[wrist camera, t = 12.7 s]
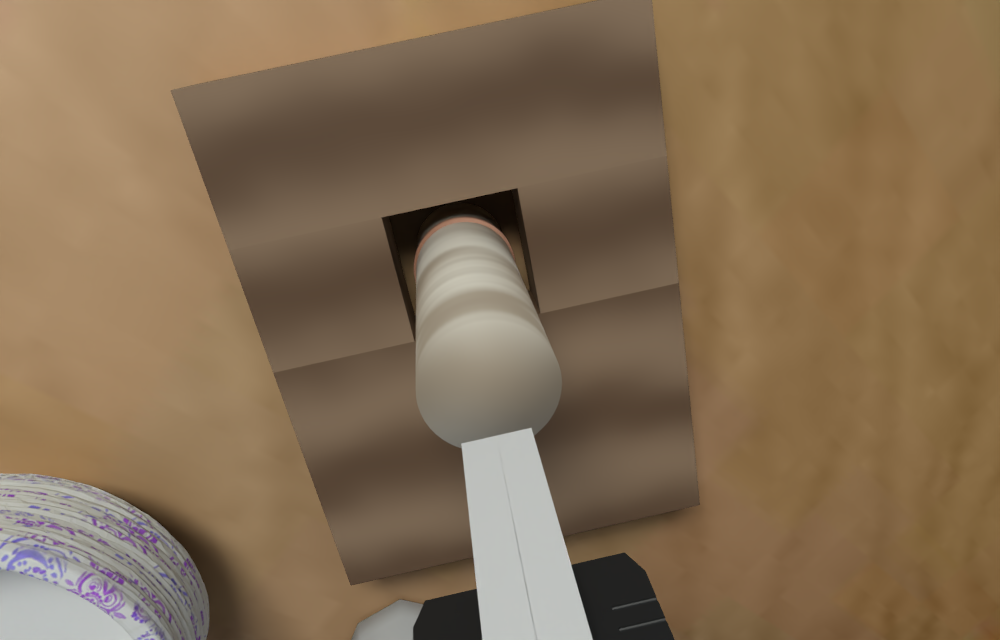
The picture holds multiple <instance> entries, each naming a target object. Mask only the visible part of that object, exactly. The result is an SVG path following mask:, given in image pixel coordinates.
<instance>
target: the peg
mask: <svg viewBox="0 0 1000 640" xmlns="http://www.w3.org/2000/svg"><path fill="white" fill-rule="evenodd" d="M414 277H415V281H416V400H417V405H418V408H419V411H420V413H421V415H422V417H423V419H424V421H425V422H426V424H427V425H428V426H429V428H430V429H431V430H432V431H433V432H434V433H435V434H436V435H438V436H439V437H440V438H441V439H443V440H444V441H446V442H448V443H450V444H452V445H454V446H456V447H459V448H462V445H461V444H462V443H466V442H470V441H475V440H479V439H484V438H488V437H493V436H497V435H501V434H506V433H510V432H515V431H519V430H523V429H528V428H532V432H533V435H536V434H537V433H538V432H539V431H540V430H541V429H542V428H543V427H544V426H545V425H546V424H547V423H548V422H549V420H550V419H551V417H552V416H553V414H554V412H555V410H556V408H557V406H558V403H559V400H560V396H561V391H562V376H561V370H560V367H559V363H558V361H557V359H556V356H555V354H554V352H553V349H552V347H551V345H550V342H549V340H548V338H547V335H546V333H545V331H544V328H543V326H542V324H541V321H540V319H539V317H538V314H537V312H536V310H535V308H534V305H533V303H532V301H531V298H530V296H529V294H528V291H527V289H526V287H525V284H524V282H523V280H522V277H521V275H520V273H519V270H518V268H517V266H516V263H515V257H514V253H513V250H512V248H511V246H510V243H509V242H508V240H507V238H506V237H505V235H504V234H503V233H502V231H501V228H500V226H499V224H498V223H497V221H496V220H495V218H494V217H493V216H492V215H491V214H490V213H489V212H487V211H486V210H485V209H483V208H481V207H479V206H477V205H474V204H470V203H463V202H462V203H451V204H447V205H444V206H442V207H440V208H438V209H436V210H435V211H433V212H432V213H431V214H430V215H429V216H428V217H427V218H426V219H425V221H424V222H423V224H422V225H421V227H420V230H419V232H418V236H417V243H416V253H415V257H414Z"/></svg>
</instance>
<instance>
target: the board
mask: <svg viewBox="0 0 1000 640" xmlns="http://www.w3.org/2000/svg"><path fill="white" fill-rule="evenodd" d="M171 93H172V95H173V98H174V101H175V104H176V106H177V109H178V112H179V115H180V117H181V120H182V123H183V126H184V128H185V131H186V134H187V137H188V139H189V142H190V145H191V148H192V150H193V153H194V156H195V159H196V161H197V164H198V167H199V170H200V172H201V175H202V178H203V181H204V183H205V186H206V189H207V192H208V194H209V197H210V200H211V203H212V205H213V208H214V211H215V214H216V216H217V219H218V222H219V225H220V227H221V230H222V233H223V236H224V238H225V241H226V244H227V247H228V249H229V252H230V255H231V258H232V260H233V263H234V266H235V269H236V271H237V274H238V277H239V280H240V282H241V285H242V288H243V291H244V293H245V296H246V299H247V302H248V304H249V307H250V310H251V313H252V315H253V318H254V321H255V324H256V326H257V329H258V332H259V335H260V337H261V340H262V343H263V346H264V348H265V351H266V354H267V357H268V359H269V362H270V365H271V368H272V370H273V373H274V376H275V378H276V381H277V384H278V387H279V389H280V392H281V395H282V398H283V400H284V403H285V406H286V409H287V411H288V414H289V417H290V420H291V422H292V425H293V428H294V431H295V433H296V436H297V439H298V442H299V444H300V447H301V450H302V453H303V455H304V458H305V461H306V464H307V466H308V469H309V472H310V475H311V477H312V480H313V483H314V486H315V488H316V491H317V494H318V497H319V499H320V502H321V505H322V508H323V510H324V513H325V516H326V519H327V521H328V524H329V527H330V530H331V532H332V535H333V538H334V541H335V543H336V546H337V549H338V552H339V554H340V557H341V560H342V563H343V565H344V568H345V571H346V574H347V576H348V579H349V582H350V585H355V584H359V583H363V582H368V581H372V580H376V579H381V578H385V577H389V576H394V575H398V574H402V573H407V572H411V571H415V570H420V569H424V568H428V567H433V566H437V565H441V564H446V563H450V562H454V561H459V560H463V559H467V558H472V557H473V548H472V538H471V529H470V520H469V510H468V501H467V492H466V482H465V473H464V464H463V454H462V448H459V447H456V446H454V445H452V444H450V443H448V442H446V441H444V440H443V439H441V438H440V437H439V436H438V435H436V434H435V433H434V432H433V431H432V430H431V429H430V428H429V426H428V425H427V424H426V422H425V421H424V419H423V417H422V415H421V413H420V411H419V408H418V405H417V400H416V316H415V315H414V311H413V307H412V303H411V299H410V296H409V292H408V288H407V284H406V280H405V277H404V273H403V269H402V265H401V261H400V257H399V254H398V250H397V246H396V242H395V238H394V235H393V231H392V227H391V223H390V219H389V216H391V215H395V214H400V213H405V212H409V211H414V210H418V209H423V208H428V207H432V206H437V205H441V204H446V203H451V202H455V201H460V200H465V199H469V198H474V197H478V196H483V195H488V194H492V193H497V192H502V191H506V190H512V195H513V200H514V206H515V211H516V216H517V222H518V227H519V232H520V238H521V243H522V248H523V254H524V259H525V265H526V270H527V275H528V281H529V286H530V290H529V291H528V294H529V296H530V298H531V301H532V303H533V305H534V308H535V310H536V312H537V314H538V317H539V319H540V321H541V324H542V326H543V328H544V331H545V333H546V335H547V338H548V340H549V342H550V345H551V347H552V349H553V352H554V354H555V356H556V359H557V361H558V363H559V367H560V370H561V376H562V391H561V396H560V400H559V403H558V406H557V408H556V410H555V412H554V414H553V416H552V417H551V419H550V420H549V422H548V423H547V424H546V425H545V426H544V427H543V428H542V429H541V430H540V431H539V432H538V433H537V434H536V435H534V438H535V442H536V445H537V449H538V452H539V456H540V459H541V463H542V466H543V470H544V473H545V476H546V480H547V483H548V487H549V490H550V494H551V497H552V501H553V504H554V507H555V511H556V514H557V518H558V521H559V525H560V528H561V532H562V535H563V536H567V535H571V534H576V533H580V532H584V531H589V530H593V529H597V528H602V527H606V526H610V525H615V524H619V523H623V522H628V521H632V520H636V519H641V518H645V517H649V516H654V515H658V514H662V513H667V512H671V511H675V510H680V509H684V508H688V507H693V506H697V505H700V502H699V491H698V481H697V470H696V459H695V449H694V438H693V428H692V417H691V407H690V396H689V386H688V375H687V365H686V354H685V344H684V333H683V323H682V312H681V302H680V291H679V280H678V270H677V259H676V249H675V238H674V228H673V217H672V207H671V196H670V186H669V175H668V165H667V154H666V144H665V133H664V122H663V112H662V101H661V91H660V80H659V70H658V59H657V49H656V38H655V28H654V17H653V7H652V0H597V1H592V2H588V3H583V4H578V5H573V6H569V7H564V8H559V9H554V10H549V11H545V12H540V13H535V14H530V15H526V16H521V17H516V18H511V19H507V20H502V21H497V22H492V23H487V24H483V25H478V26H473V27H468V28H464V29H459V30H454V31H449V32H445V33H440V34H435V35H430V36H425V37H421V38H416V39H411V40H406V41H402V42H397V43H392V44H387V45H383V46H378V47H373V48H368V49H363V50H359V51H354V52H349V53H344V54H340V55H335V56H330V57H325V58H320V59H316V60H311V61H306V62H301V63H297V64H292V65H287V66H282V67H278V68H273V69H268V70H263V71H258V72H254V73H249V74H244V75H239V76H235V77H230V78H225V79H220V80H216V81H211V82H206V83H201V84H196V85H192V86H187V87H183V88H179V89H174V90H171Z"/></svg>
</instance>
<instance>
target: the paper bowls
mask: <svg viewBox="0 0 1000 640" xmlns="http://www.w3.org/2000/svg"><path fill="white" fill-rule="evenodd" d="M208 629H209V600H208V594H207V591H206V588H205V584H204V582H203V580H202V579H201V575H200V573H199V571H198V569H197V567H196V566H195V564H194V562H193V560H192V559H191V557H190V556H189V554H188V552H187V551H186V550H185V548H184V547H183V546H182V545H181V544H180V543H179V542H178V541H177V540H176V539H175V538H174V537H173V536H172V535H171V534H170V533H169V532H168V531H167V530H166V529H165V528H164V527H163V526H162V525H161V524H160V523H158V522H157V521H156V520H154V519H153V518H152V517H150V516H149V515H148V514H146V513H144V512H142V511H140V510H139V509H137V508H136V507H134V506H133V505H131V504H129V503H128V502H126V501H124V500H122V499H120V498H118V497H116V496H114V495H112V494H109V493H108V492H105V491H103V490H100V489H98V488H95V487H93V486H90V485H86V484H83V483H79V482H74V481H70V480H66V479H62V478H56V477H51V476H44V475H37V474H0V640H206V638H207V634H208Z"/></svg>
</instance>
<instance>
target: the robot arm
mask: <svg viewBox="0 0 1000 640" xmlns="http://www.w3.org/2000/svg"><path fill="white" fill-rule="evenodd" d="M461 445H462V454H463V464H464V473H465V482H466V492H467V501H468V510H469V520H470V529H471V538H472V548H473V557H474V566H475V576H476V585H477V589H474V590H470V591H465V592H461V593H457V594H452V595H448V596H444V597H439V598H435V599H431V600H426V601H425V602H424V604H423V607H422V609H421V611H420V613H419V615H418V618H417V620H416V622H415V624H414V626H413V640H674V637H673V635H672V633H671V630H670V628H669V626H668V623H667V622H666V620H665V616H664V614H663V612H662V609H661V607H660V604H659V602H658V601H657V599H656V595H655V593H654V590H653V588H652V586H651V583H650V581H649V579H648V576H647V574H646V572H645V570H643V569H642V568H641V567H640V566H639V565H638V564H637V563H636V562H635V561H633V560H632V559H631V558H630V557H629V556H628V555H627V554H626V553H621V554H616V555H612V556H608V557H603V558H599V559H595V560H590V561H586V562H582V563H578V564H573V565H571V563H570V559H569V556H568V552H567V549H566V545H565V542H564V539H563V535H562V532H561V528H560V525H559V521H558V518H557V514H556V511H555V507H554V504H553V501H552V497H551V494H550V490H549V487H548V483H547V480H546V476H545V473H544V470H543V466H542V463H541V459H540V456H539V452H538V449H537V445H536V442H535V438H534V435H533V432H532V428H528V429H523V430H519V431H515V432H510V433H506V434H501V435H497V436H493V437H488V438H484V439H479V440H475V441H470V442H466V443H462V444H461Z"/></svg>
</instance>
